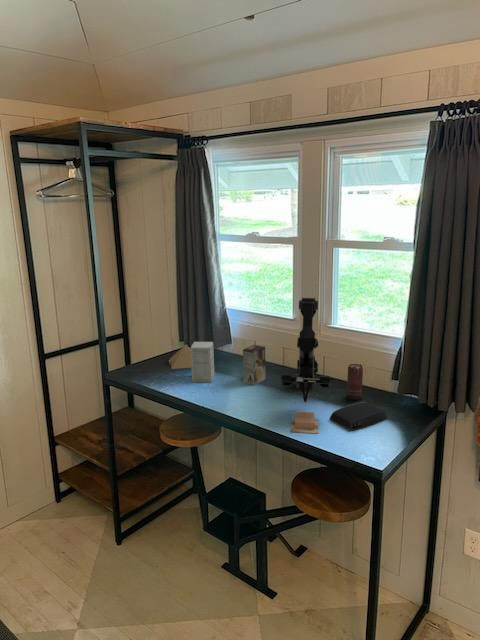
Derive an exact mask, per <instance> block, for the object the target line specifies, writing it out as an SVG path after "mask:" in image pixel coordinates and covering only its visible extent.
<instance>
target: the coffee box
mask: <svg viewBox="0 0 480 640" xmlns="http://www.w3.org/2000/svg"><path fill="white" fill-rule="evenodd" d="M242 360H243V361H242V362H243V363H242V365H243V366H242V367H243V368H242V370H243V375H242V377H243V383H244V384H249V385H252V386H256V385H258V384H260V383H261V382H263V381H265V380H266V346H263V345H257V344H253V345H250V346H247V347H245V348H243V349H242Z"/></svg>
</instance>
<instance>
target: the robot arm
mask: <svg viewBox="0 0 480 640" xmlns="http://www.w3.org/2000/svg"><path fill="white" fill-rule="evenodd" d="M298 310H300V311H299V312H300V314H301V315H302V329H301V331H299V335H298V336H299V337H297V344H296V345H297V346H296V347H297V348H298V354H299V357H298V359H297V363H296V365H297V366H296V367H297V368H296V369H297V370H296V372H297V374H298V375H295V377H293V375H292V373H283V374H281V375H280V377H281V379H280V380H281V386H283V387H284V386H285V387H291V386H292V384H293V383H294V384H295V388H297V389H299V391H300V392H301V396H302V399H303V402H304V403H307V401H308V398H309V396H310V394H311V392H312V390H314V389H315V390H316V386H317V384H318V385H319V386H320V387H321V388H325V389H326V388H328V389H329V388H331V383H332V377H331V376H330V375H320V378H318V377H317V378H315V377H314V375H315V374H317V373H318V371H319V363H318V362H317V360H316V357H315V349H317V347H319V340H318V339H317V338H316V332H315V330H314V329H313V318H314V317H315V315H316V314H317V310H319V300H316V297H301V299H299V300H298ZM305 389H306V391H305Z"/></svg>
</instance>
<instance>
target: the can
mask: <svg viewBox="0 0 480 640" xmlns="http://www.w3.org/2000/svg"><path fill="white" fill-rule="evenodd" d="M363 374H364V368H363V365H361V364H358V363H351V364H349V365H348V367H347V378H346V379H347V380H346V381H347V382H346V397H347V398H348V399H349V400H353V401H356V400H360V399H361V398H362V394H363V376H364V375H363Z"/></svg>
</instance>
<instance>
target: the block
mask: <svg viewBox="0 0 480 640" xmlns="http://www.w3.org/2000/svg"><path fill="white" fill-rule="evenodd" d="M315 417H316V416H315V412H314V411H313V412H311V411H309V412H308V411H295V418H296V419H295V428H307V429H314V423H315Z"/></svg>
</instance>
